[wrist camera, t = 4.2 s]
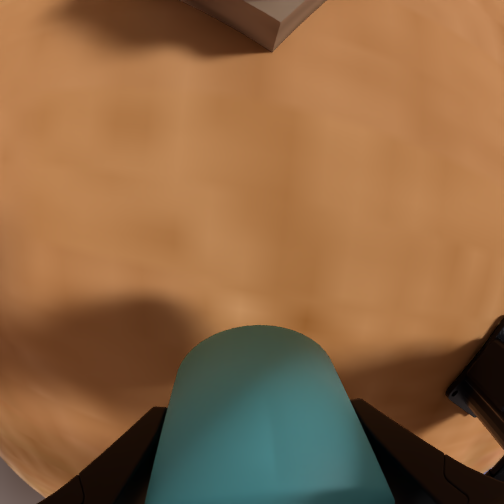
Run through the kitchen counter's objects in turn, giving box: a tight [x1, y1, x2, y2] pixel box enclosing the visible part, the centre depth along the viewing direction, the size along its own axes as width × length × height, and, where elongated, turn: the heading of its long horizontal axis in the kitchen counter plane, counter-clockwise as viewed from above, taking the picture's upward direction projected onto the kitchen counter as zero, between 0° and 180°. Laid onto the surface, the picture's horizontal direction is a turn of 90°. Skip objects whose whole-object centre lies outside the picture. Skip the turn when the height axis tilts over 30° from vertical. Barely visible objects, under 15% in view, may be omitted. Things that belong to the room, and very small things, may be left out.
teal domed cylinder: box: [145, 325, 395, 504], centre depth 6 cm, size 5×5×5 cm
